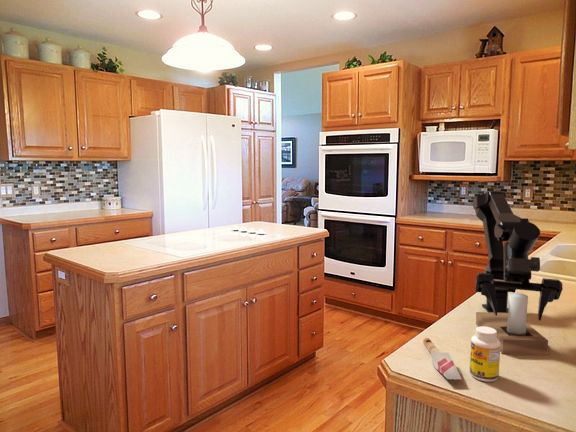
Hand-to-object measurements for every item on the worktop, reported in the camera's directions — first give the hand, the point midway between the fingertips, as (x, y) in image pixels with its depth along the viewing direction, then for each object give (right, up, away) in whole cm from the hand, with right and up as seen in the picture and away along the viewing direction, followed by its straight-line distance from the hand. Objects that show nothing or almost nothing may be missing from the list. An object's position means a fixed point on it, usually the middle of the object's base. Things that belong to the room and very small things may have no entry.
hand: (517, 317), depth 103 cm
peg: (+1, -7, +2) cm, 8 cm away
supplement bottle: (-14, -10, -12) cm, 21 cm away
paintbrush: (-21, -9, -6) cm, 24 cm away
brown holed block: (+1, -7, +6) cm, 9 cm away
